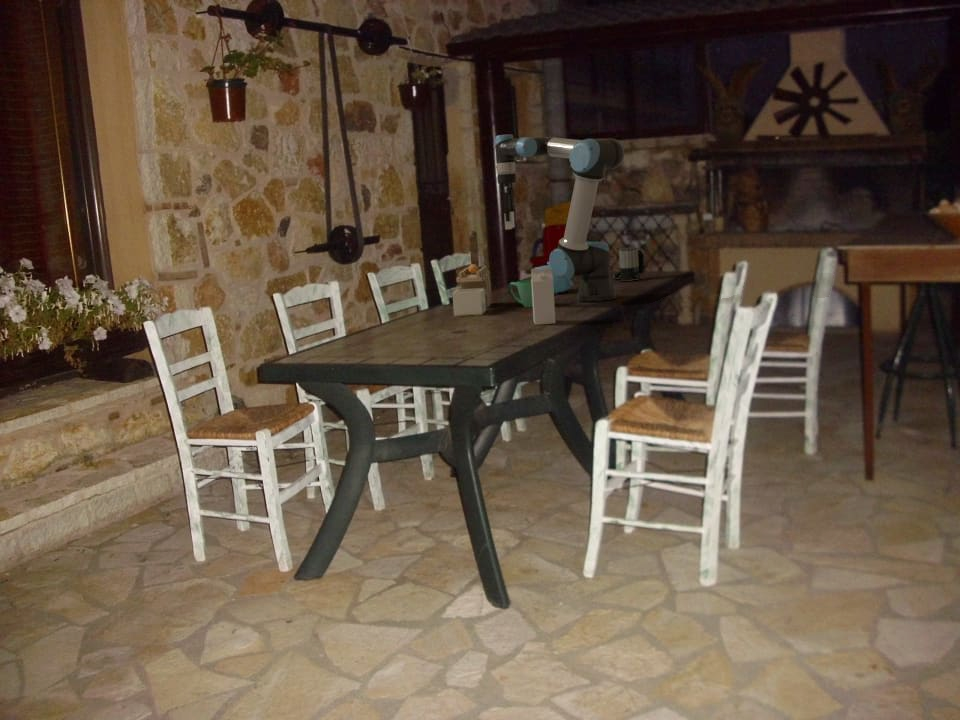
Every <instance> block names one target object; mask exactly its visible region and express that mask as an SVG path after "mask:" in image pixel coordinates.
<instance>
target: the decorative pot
mask: <svg viewBox="0 0 960 720" xmlns="http://www.w3.org/2000/svg"><path fill="white" fill-rule="evenodd" d="M546 264H547V265H541V266H537V267H534V268H533V269H544V268H551V267H550V263H549V261H547V263H546ZM552 276H553V288H554V294H555V295H559V294H558V293H565V292H567V291H568V290H569V289H570V288H572V287H573V286H574V283H573V281H572V280H571V279H572V278H559V277H557V276H556V275H555V274H554V273H553V271H552ZM564 291H565V292H564Z"/></svg>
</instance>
